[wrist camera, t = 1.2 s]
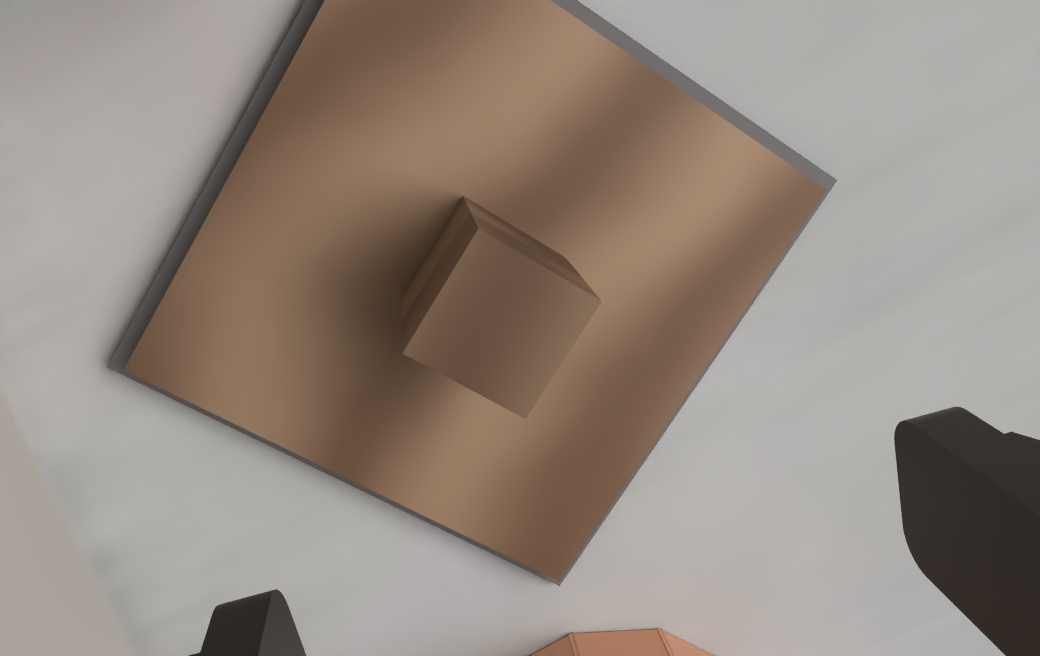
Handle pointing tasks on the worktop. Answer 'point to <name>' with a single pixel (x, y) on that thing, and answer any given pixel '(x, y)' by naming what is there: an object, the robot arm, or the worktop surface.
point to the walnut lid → (473, 265)
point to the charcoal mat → (256, 111)
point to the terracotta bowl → (621, 645)
